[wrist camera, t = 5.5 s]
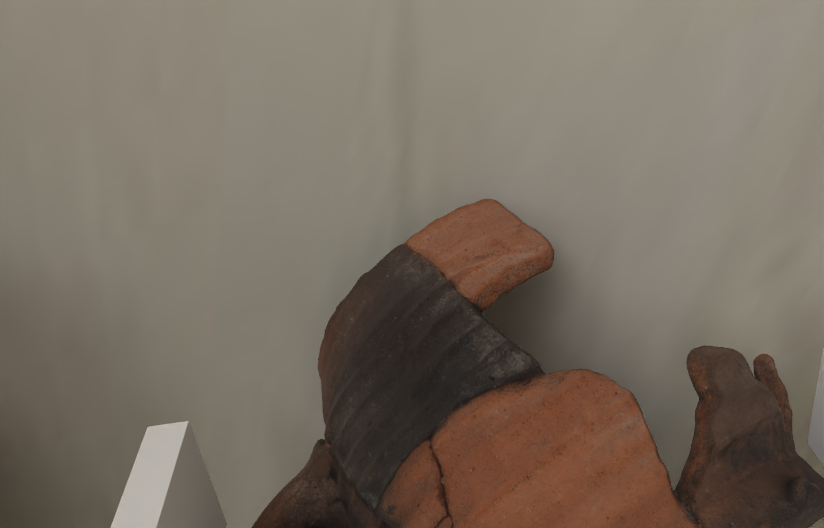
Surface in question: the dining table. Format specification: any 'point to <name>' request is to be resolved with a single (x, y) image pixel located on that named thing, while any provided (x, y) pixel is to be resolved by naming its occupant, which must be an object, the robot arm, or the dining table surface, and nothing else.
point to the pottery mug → (520, 413)
